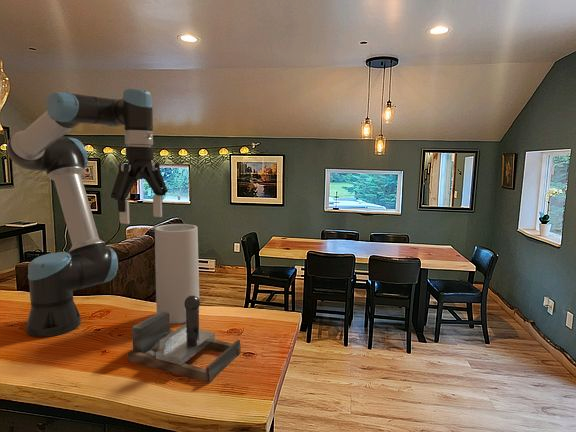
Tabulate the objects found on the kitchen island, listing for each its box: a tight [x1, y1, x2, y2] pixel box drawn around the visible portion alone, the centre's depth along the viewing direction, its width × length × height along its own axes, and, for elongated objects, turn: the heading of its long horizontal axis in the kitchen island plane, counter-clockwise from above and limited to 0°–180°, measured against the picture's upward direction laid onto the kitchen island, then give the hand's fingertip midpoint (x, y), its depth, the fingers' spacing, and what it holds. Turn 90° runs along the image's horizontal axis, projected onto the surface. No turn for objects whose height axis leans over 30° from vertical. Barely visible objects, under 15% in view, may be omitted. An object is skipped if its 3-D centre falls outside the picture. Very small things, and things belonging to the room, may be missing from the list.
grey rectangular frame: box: [127, 311, 242, 384], centre depth 109 cm, size 26×16×9 cm, turn 68°
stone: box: [145, 333, 170, 356], centre depth 111 cm, size 10×5×8 cm
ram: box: [156, 296, 216, 365], centre depth 108 cm, size 8×16×18 cm, turn 159°
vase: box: [154, 223, 200, 325], centre depth 134 cm, size 14×14×32 cm
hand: (142, 219), depth 115 cm, fingers open, 13 cm apart
